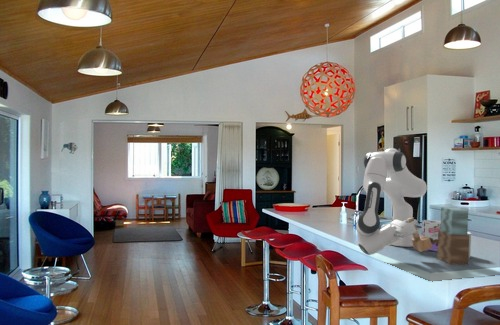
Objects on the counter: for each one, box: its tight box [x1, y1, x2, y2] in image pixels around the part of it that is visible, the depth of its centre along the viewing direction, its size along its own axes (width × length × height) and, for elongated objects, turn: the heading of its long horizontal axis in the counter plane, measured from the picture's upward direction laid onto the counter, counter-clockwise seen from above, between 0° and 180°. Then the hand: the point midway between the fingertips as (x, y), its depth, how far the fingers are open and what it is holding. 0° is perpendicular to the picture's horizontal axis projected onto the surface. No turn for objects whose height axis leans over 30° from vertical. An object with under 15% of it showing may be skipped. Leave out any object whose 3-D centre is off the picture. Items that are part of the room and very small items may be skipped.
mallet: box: [408, 217, 432, 253], centre depth 236 cm, size 8×16×6 cm
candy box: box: [420, 219, 441, 252], centre depth 264 cm, size 14×6×16 cm, turn 82°
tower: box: [436, 207, 470, 265], centre depth 238 cm, size 13×9×26 cm
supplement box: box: [467, 231, 472, 259], centre depth 251 cm, size 7×7×13 cm
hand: (414, 220), depth 235 cm, fingers closed on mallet, 3 cm apart
